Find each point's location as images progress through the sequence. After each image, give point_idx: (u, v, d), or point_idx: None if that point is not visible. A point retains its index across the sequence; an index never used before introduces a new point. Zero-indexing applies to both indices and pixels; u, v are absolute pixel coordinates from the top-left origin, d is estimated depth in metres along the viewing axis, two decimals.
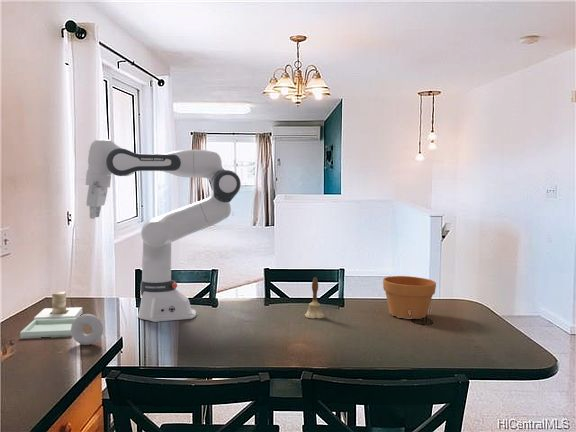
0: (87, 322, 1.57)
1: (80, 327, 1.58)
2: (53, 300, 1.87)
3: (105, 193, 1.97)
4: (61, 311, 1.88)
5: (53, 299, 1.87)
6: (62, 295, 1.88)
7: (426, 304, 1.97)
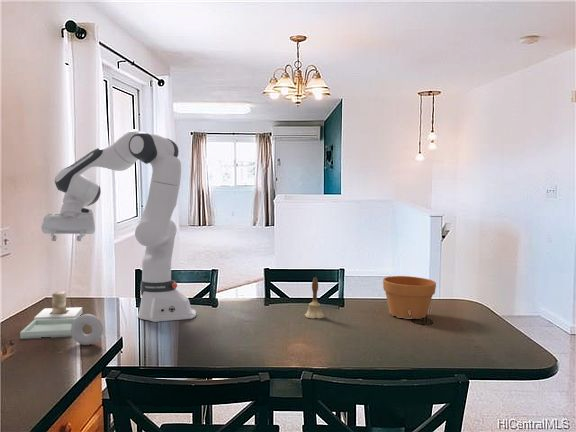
0: (87, 322, 1.57)
1: (80, 327, 1.58)
2: (53, 300, 1.87)
3: (89, 219, 2.07)
4: (61, 311, 1.88)
5: (53, 299, 1.87)
6: (62, 295, 1.88)
7: (426, 304, 1.97)
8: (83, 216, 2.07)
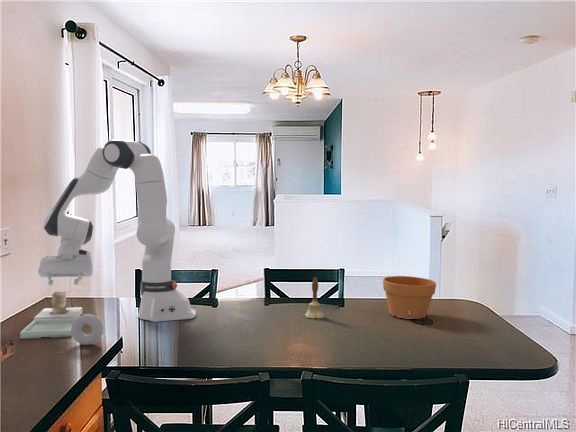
0: (87, 322, 1.57)
1: (80, 327, 1.58)
2: (53, 300, 1.87)
3: (86, 261, 2.03)
4: (61, 311, 1.88)
5: (53, 299, 1.87)
6: (62, 295, 1.88)
7: (426, 304, 1.97)
8: (81, 258, 2.03)
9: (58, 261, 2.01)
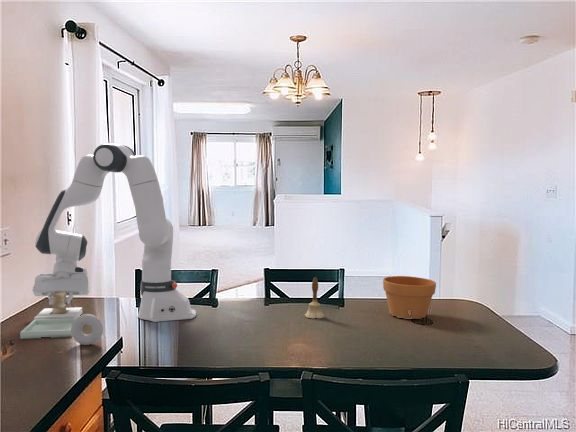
0: (87, 322, 1.57)
1: (80, 327, 1.58)
2: (53, 300, 1.87)
3: (83, 279, 1.95)
4: (61, 311, 1.88)
5: (53, 299, 1.87)
6: (62, 295, 1.88)
7: (426, 304, 1.97)
8: (77, 276, 1.95)
9: (53, 279, 1.94)
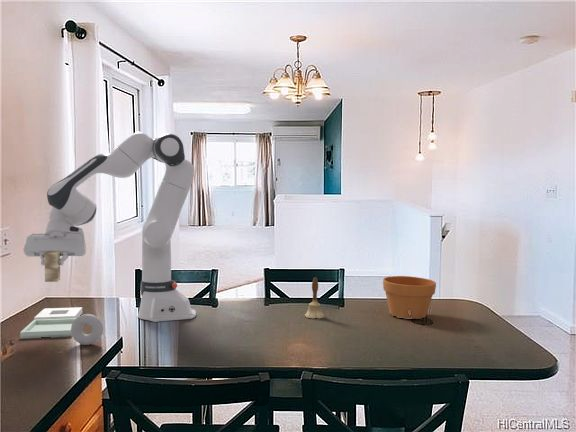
0: (87, 322, 1.57)
1: (80, 327, 1.58)
2: (46, 260, 1.71)
3: (78, 239, 1.80)
4: (54, 272, 1.72)
5: (46, 259, 1.71)
6: (55, 254, 1.72)
7: (426, 304, 1.97)
8: (72, 236, 1.80)
9: (46, 239, 1.78)
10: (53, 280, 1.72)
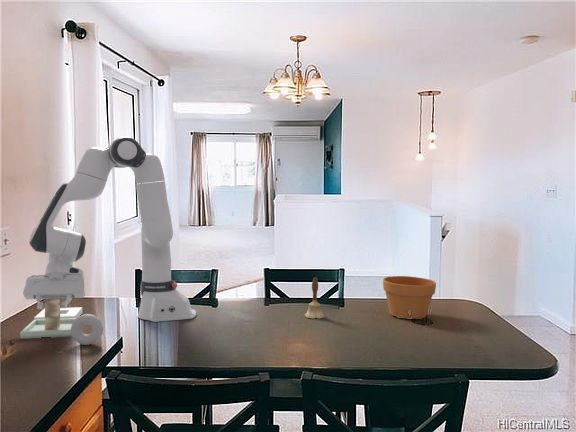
0: (87, 322, 1.57)
1: (80, 327, 1.58)
2: (46, 308, 1.71)
3: (78, 281, 1.79)
4: (54, 321, 1.72)
5: (46, 307, 1.71)
6: (55, 303, 1.71)
7: (426, 304, 1.97)
8: (72, 277, 1.79)
9: (46, 281, 1.77)
10: (53, 328, 1.72)
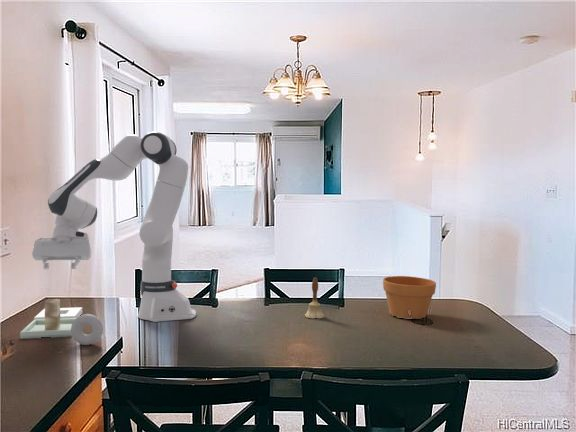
0: (87, 322, 1.57)
1: (80, 327, 1.58)
2: (46, 308, 1.71)
3: (84, 244, 1.90)
4: (54, 321, 1.72)
5: (46, 307, 1.71)
6: (55, 303, 1.71)
7: (426, 304, 1.97)
8: (78, 240, 1.90)
9: (53, 243, 1.88)
10: (53, 328, 1.72)
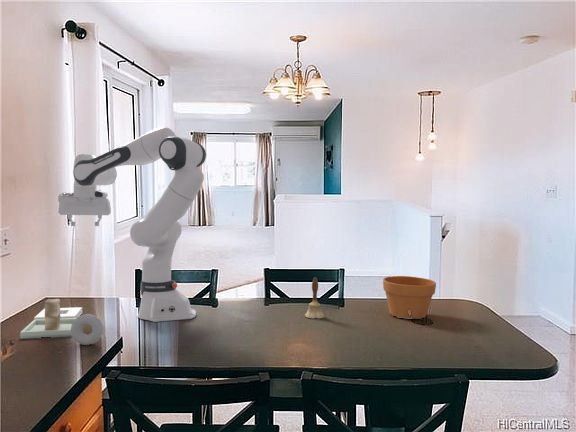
0: (87, 322, 1.57)
1: (80, 327, 1.58)
2: (46, 308, 1.71)
3: (104, 203, 2.07)
4: (54, 321, 1.72)
5: (46, 307, 1.71)
6: (55, 303, 1.71)
7: (426, 304, 1.97)
8: (97, 200, 2.06)
9: (76, 202, 2.05)
10: (53, 328, 1.72)
